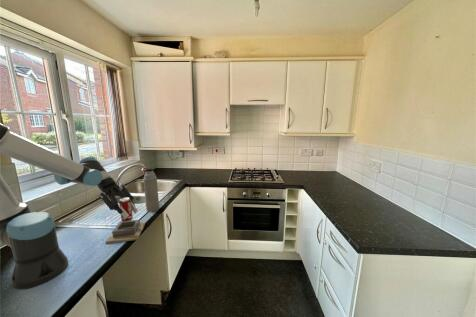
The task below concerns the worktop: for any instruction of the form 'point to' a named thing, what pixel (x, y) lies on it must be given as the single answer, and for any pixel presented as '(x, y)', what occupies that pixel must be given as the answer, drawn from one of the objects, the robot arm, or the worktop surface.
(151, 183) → the thermos bottle
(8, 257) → the worktop surface
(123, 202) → the soda can
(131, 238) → the square socket dock
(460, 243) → the worktop surface
